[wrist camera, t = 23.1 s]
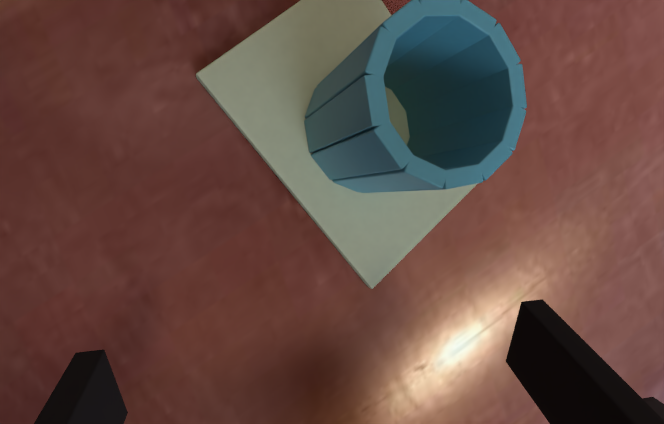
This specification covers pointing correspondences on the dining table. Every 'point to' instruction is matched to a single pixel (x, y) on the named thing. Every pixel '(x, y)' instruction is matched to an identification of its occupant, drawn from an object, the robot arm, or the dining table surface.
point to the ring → (420, 102)
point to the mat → (290, 135)
